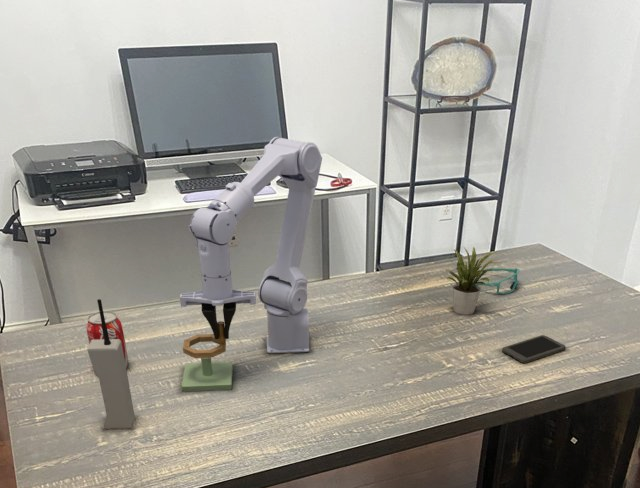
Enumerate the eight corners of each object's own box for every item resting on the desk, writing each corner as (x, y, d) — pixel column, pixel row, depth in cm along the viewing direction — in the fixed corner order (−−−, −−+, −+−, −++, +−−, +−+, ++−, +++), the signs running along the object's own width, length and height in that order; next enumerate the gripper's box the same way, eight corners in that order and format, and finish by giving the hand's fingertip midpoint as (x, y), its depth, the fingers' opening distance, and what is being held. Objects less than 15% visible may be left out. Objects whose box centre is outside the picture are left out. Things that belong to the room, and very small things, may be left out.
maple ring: (226, 338, 142) (224, 313, 139) (225, 357, 135) (223, 331, 132) (185, 340, 141) (182, 315, 138) (182, 358, 134) (179, 333, 131)
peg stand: (232, 366, 147) (231, 344, 144) (231, 389, 139) (229, 367, 136) (185, 368, 146) (183, 346, 143) (181, 391, 138) (178, 369, 135)
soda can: (136, 364, 147) (127, 312, 140) (116, 379, 141) (106, 326, 135) (108, 358, 149) (98, 307, 142) (88, 373, 143) (76, 321, 137)
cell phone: (500, 350, 156) (500, 347, 155) (543, 337, 162) (543, 334, 162) (523, 363, 150) (524, 360, 150) (566, 349, 157) (567, 346, 156)
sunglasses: (507, 298, 181) (508, 280, 179) (456, 291, 189) (456, 274, 186) (526, 282, 191) (527, 265, 189) (477, 276, 199) (477, 259, 196)
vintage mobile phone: (108, 418, 129) (82, 295, 115) (135, 418, 129) (113, 294, 115) (104, 429, 126) (77, 303, 112) (131, 429, 126) (108, 303, 112)
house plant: (505, 308, 176) (515, 247, 167) (484, 327, 166) (493, 262, 157) (455, 296, 182) (462, 236, 173) (432, 313, 173) (438, 250, 164)
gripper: (175, 281, 126) (183, 347, 133) (254, 279, 128) (258, 344, 135) (178, 268, 132) (186, 331, 139) (254, 266, 133) (257, 329, 141)
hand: (221, 337), depth 137 cm, fingers closed on maple ring
